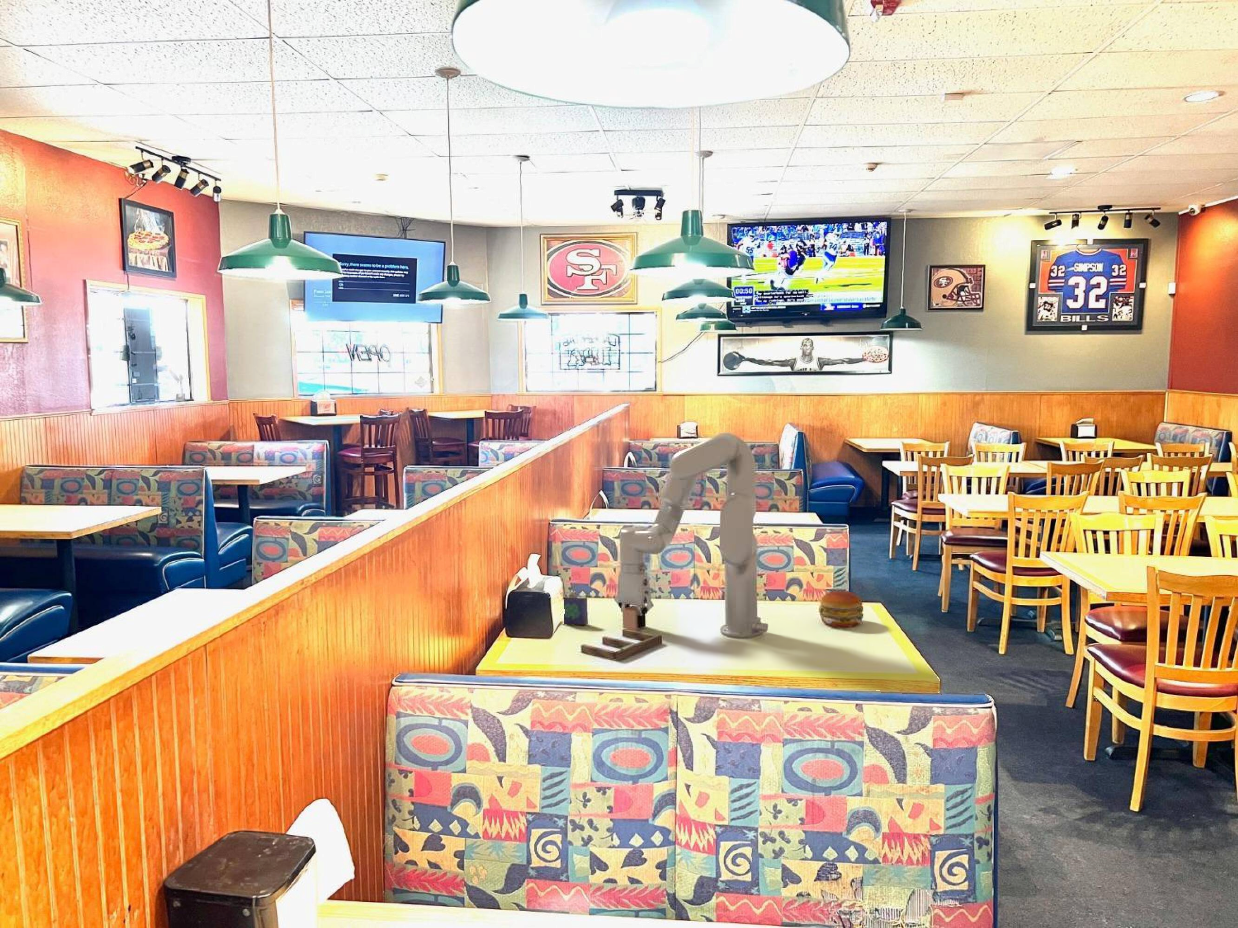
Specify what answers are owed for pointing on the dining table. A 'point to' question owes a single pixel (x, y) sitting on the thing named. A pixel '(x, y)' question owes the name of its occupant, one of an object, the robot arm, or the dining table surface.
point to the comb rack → (624, 645)
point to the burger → (841, 609)
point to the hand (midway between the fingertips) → (634, 624)
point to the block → (631, 618)
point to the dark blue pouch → (575, 609)
